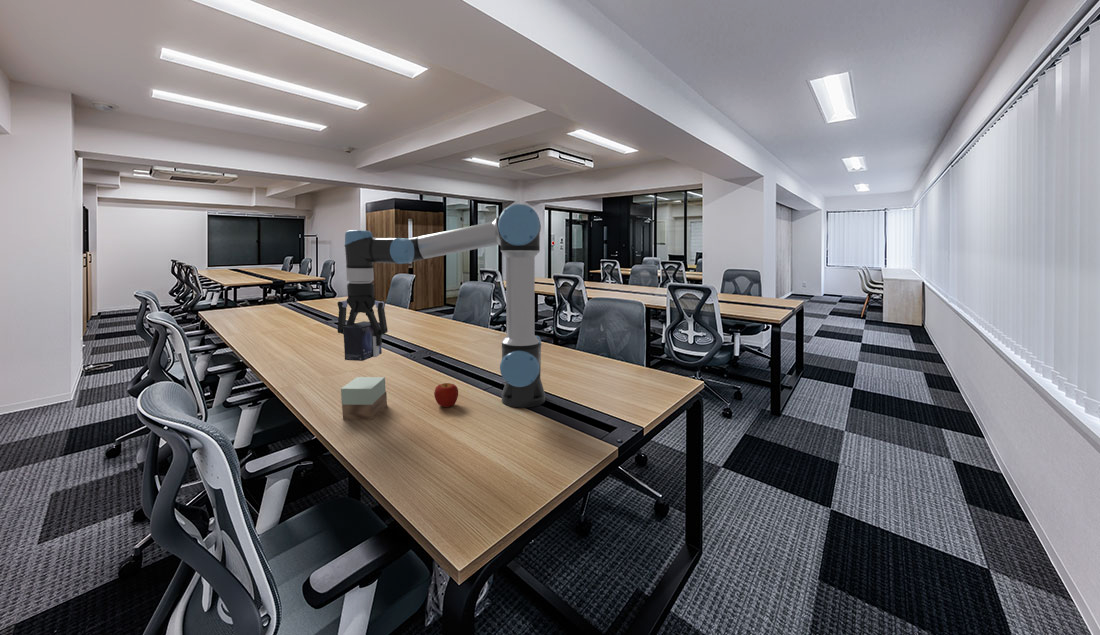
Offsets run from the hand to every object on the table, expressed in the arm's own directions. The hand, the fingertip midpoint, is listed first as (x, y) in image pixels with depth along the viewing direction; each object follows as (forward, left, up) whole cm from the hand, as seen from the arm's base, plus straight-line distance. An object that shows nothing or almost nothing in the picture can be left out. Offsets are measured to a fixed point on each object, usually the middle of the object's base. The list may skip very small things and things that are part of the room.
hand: (363, 355), depth 133 cm
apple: (-24, -6, -19) cm, 31 cm away
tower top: (0, 0, -14) cm, 14 cm away
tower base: (0, 0, -19) cm, 19 cm away
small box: (0, 0, -1) cm, 1 cm away
